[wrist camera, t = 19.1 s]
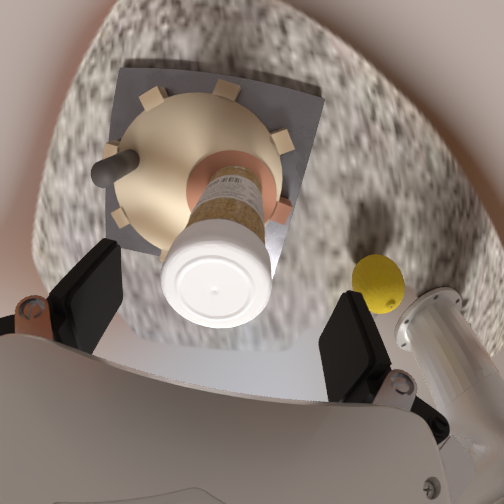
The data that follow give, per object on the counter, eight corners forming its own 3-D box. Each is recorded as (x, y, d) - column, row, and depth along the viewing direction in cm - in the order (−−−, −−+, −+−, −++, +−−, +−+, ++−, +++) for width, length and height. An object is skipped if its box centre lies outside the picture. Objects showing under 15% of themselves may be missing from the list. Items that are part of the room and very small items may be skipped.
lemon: (363, 233, 28) (393, 274, 21) (394, 254, 30) (425, 295, 23) (334, 271, 31) (353, 318, 24) (367, 288, 32) (389, 333, 25)
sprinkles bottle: (207, 214, 23) (163, 326, 12) (209, 161, 21) (151, 234, 9) (260, 217, 23) (266, 336, 12) (266, 165, 21) (280, 244, 9)
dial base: (321, 99, 22) (325, 98, 21) (271, 272, 31) (272, 278, 30) (125, 68, 20) (119, 67, 19) (110, 239, 29) (106, 244, 28)
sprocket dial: (251, 280, 29) (250, 326, 23) (99, 227, 26) (66, 260, 20) (326, 123, 21) (353, 129, 15) (140, 61, 18) (103, 49, 12)
